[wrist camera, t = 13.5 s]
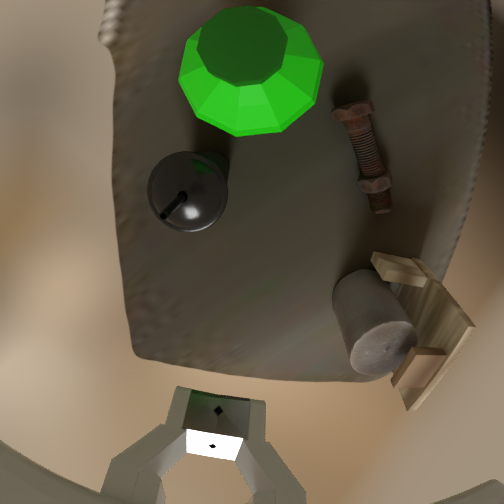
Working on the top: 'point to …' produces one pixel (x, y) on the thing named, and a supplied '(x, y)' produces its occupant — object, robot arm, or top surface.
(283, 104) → the plastic bottle
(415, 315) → the cradle
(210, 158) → the drinking cup
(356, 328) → the pillar candle
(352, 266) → the top surface
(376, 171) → the bolt
